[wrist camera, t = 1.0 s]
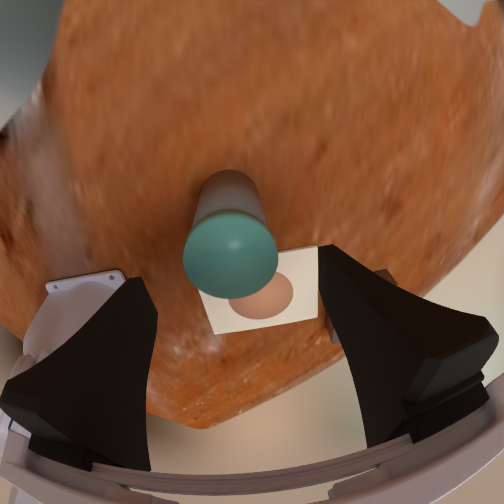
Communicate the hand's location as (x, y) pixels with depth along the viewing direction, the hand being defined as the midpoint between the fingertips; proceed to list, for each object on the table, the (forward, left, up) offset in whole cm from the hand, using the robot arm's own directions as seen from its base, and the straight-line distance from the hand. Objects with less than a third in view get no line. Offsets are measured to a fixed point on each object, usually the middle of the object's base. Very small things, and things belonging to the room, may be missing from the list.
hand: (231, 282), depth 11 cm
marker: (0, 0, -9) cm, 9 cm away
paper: (+1, -9, -9) cm, 13 cm away
